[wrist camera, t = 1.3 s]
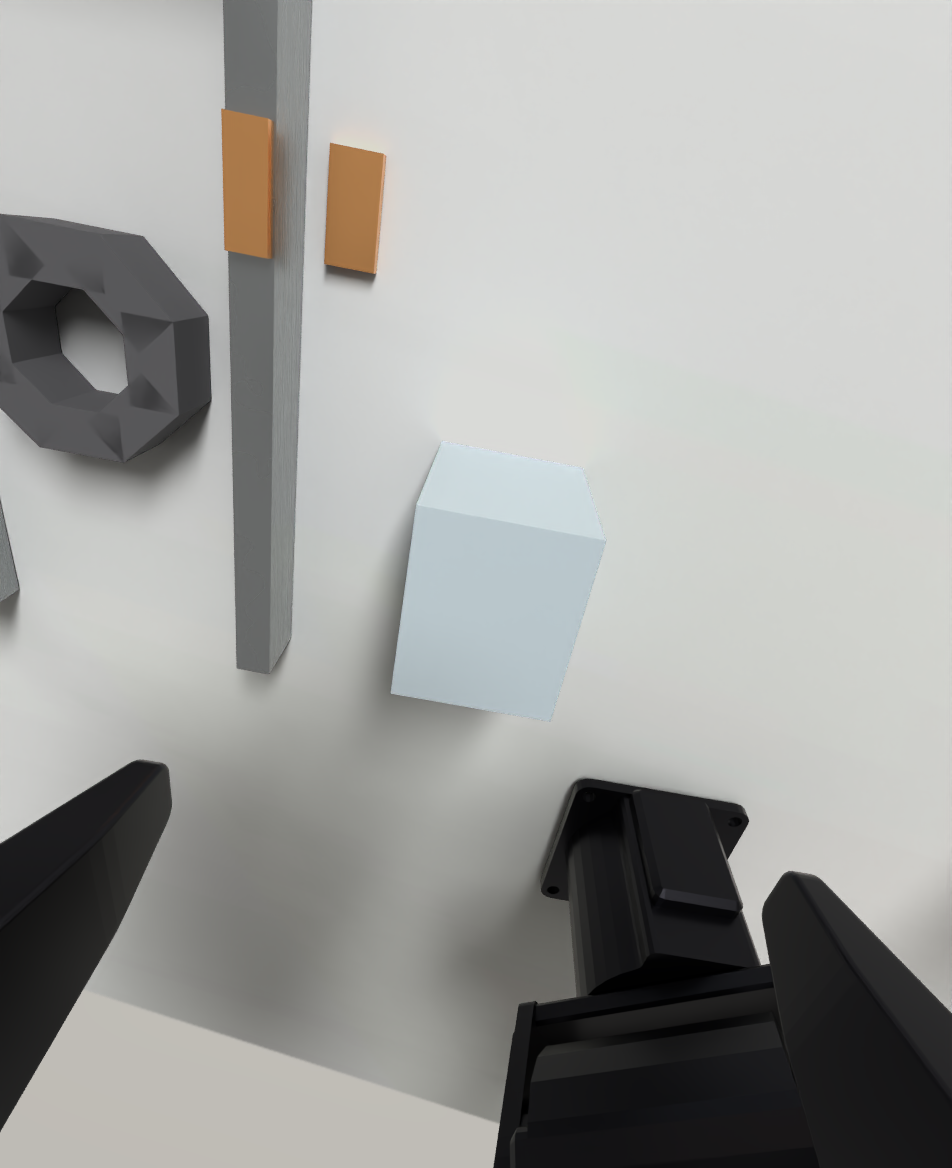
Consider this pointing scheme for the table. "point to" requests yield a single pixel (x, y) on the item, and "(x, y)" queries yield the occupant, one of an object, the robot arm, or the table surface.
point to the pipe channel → (271, 296)
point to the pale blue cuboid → (496, 581)
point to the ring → (132, 303)
